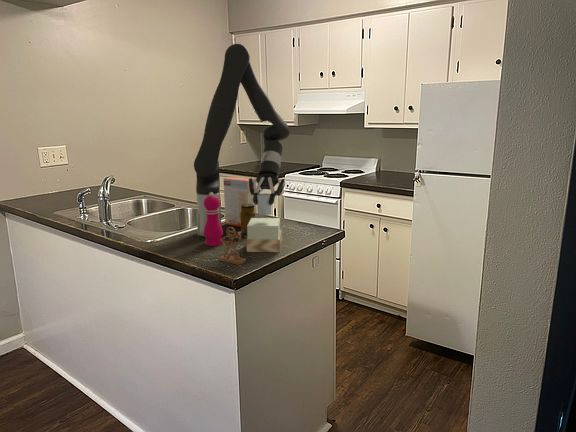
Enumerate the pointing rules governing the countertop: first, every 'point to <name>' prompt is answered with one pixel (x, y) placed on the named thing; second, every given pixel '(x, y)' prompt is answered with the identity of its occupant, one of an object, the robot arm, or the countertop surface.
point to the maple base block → (264, 244)
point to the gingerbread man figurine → (227, 256)
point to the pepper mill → (212, 221)
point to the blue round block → (263, 204)
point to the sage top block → (263, 228)
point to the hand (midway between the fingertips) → (262, 203)
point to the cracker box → (236, 199)
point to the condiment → (246, 217)
